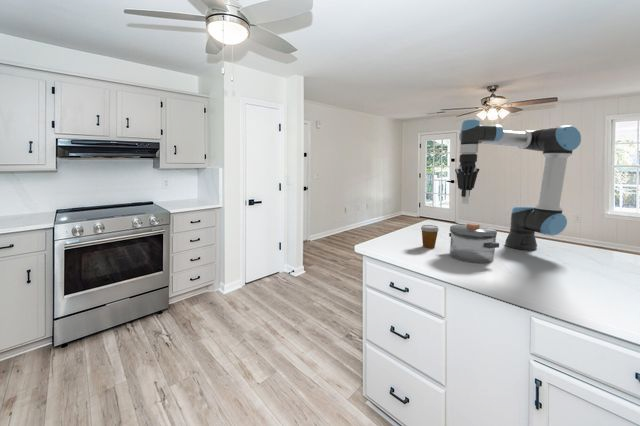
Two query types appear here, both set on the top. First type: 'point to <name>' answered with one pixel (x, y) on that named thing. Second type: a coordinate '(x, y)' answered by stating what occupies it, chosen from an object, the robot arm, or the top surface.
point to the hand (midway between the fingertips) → (464, 203)
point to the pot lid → (473, 231)
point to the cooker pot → (472, 248)
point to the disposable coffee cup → (429, 236)
